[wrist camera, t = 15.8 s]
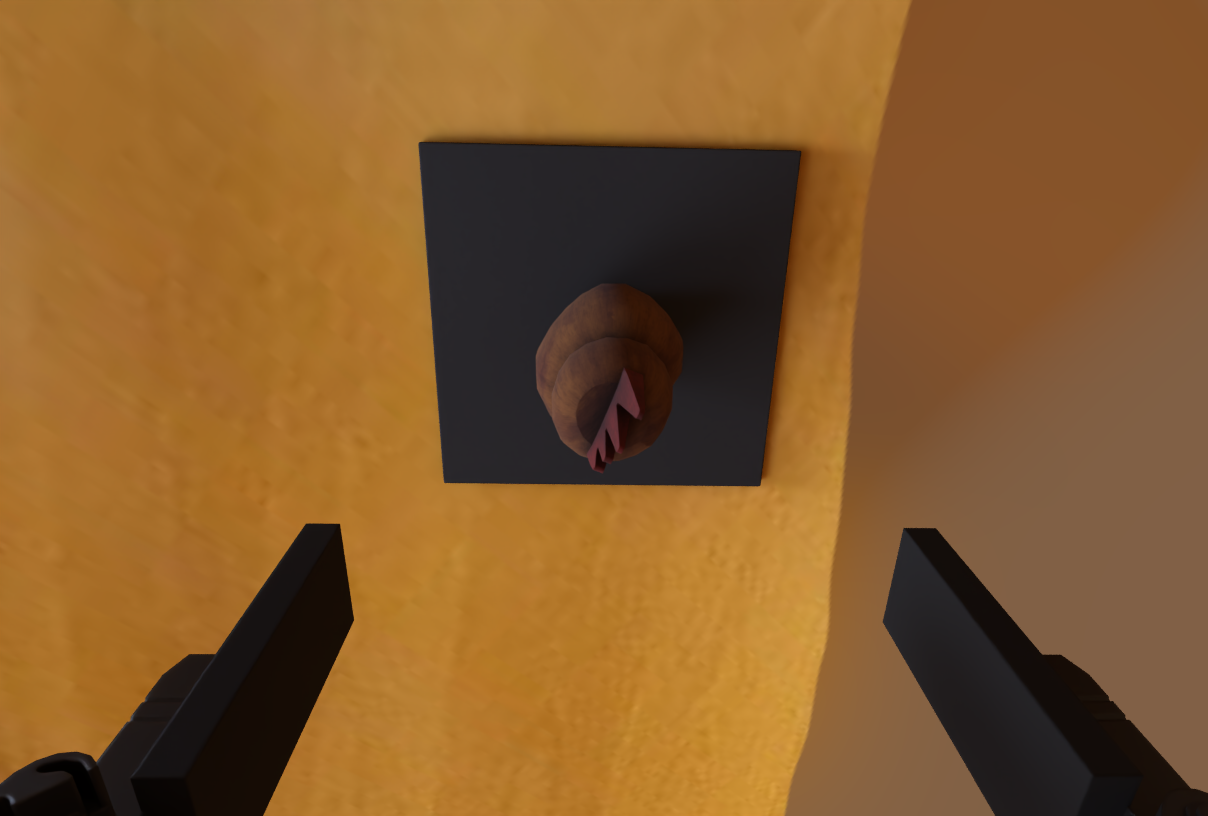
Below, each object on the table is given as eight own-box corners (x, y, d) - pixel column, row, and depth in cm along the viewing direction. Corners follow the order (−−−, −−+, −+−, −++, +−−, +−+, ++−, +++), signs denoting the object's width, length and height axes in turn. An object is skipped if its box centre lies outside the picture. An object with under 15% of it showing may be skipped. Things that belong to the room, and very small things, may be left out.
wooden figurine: (613, 246, 34) (628, 330, 20) (692, 325, 36) (755, 453, 22) (521, 340, 36) (477, 476, 22) (600, 412, 38) (605, 580, 24)
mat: (445, 478, 40) (443, 483, 39) (420, 141, 33) (418, 142, 32) (758, 481, 40) (760, 486, 40) (798, 150, 33) (801, 150, 33)
